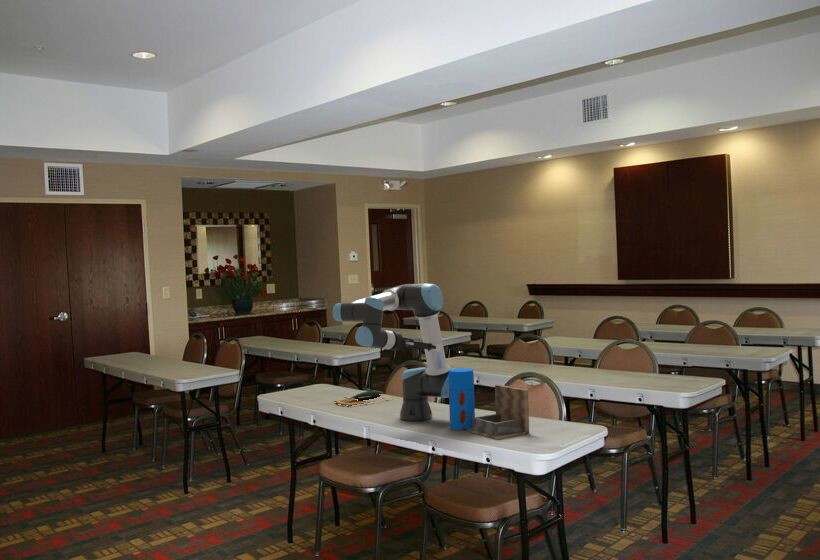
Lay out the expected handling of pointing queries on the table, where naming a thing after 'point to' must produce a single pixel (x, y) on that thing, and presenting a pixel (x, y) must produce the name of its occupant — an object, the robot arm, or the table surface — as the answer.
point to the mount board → (505, 415)
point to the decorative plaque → (361, 398)
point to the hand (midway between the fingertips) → (428, 346)
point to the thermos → (461, 398)
